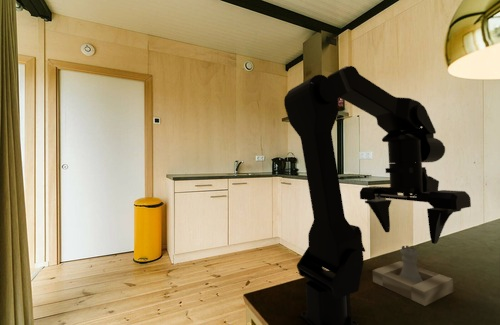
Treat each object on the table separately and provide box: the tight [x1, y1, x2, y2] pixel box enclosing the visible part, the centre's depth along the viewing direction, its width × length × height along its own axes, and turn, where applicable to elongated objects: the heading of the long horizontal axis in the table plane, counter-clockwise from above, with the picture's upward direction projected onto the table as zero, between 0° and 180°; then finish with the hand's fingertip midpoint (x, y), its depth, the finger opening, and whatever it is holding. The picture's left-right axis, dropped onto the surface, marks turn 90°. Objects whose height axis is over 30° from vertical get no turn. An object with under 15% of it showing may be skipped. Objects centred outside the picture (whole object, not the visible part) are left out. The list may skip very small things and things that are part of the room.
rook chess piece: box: [399, 245, 423, 283], centre depth 47 cm, size 4×4×8 cm
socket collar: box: [372, 260, 454, 307], centre depth 47 cm, size 10×10×2 cm
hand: (408, 237), depth 47 cm, fingers open, 9 cm apart
